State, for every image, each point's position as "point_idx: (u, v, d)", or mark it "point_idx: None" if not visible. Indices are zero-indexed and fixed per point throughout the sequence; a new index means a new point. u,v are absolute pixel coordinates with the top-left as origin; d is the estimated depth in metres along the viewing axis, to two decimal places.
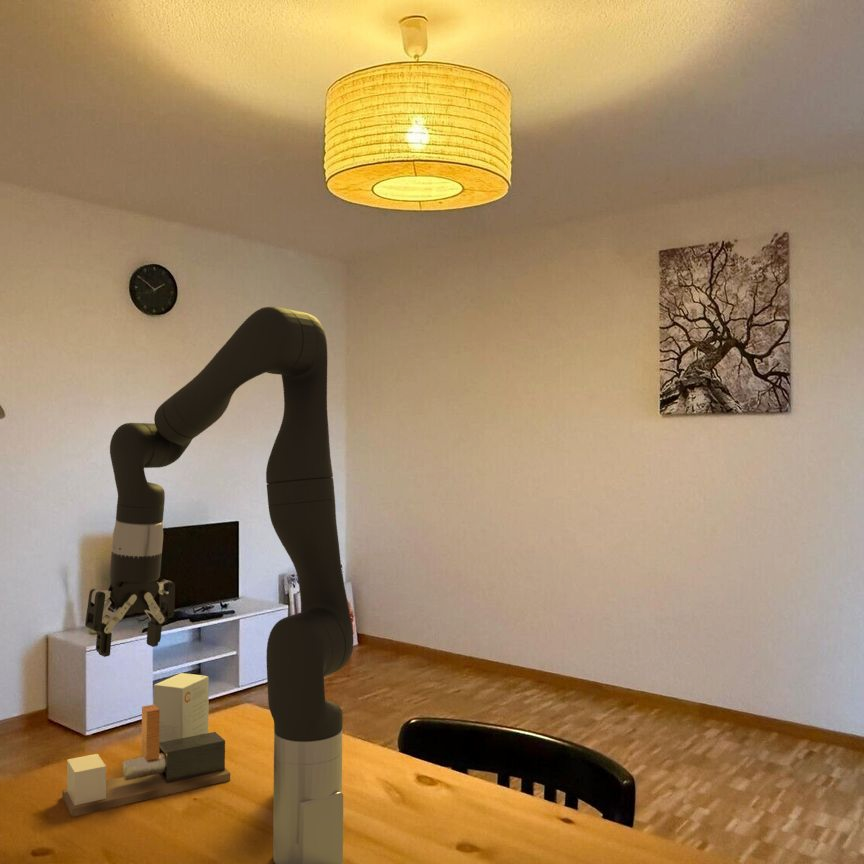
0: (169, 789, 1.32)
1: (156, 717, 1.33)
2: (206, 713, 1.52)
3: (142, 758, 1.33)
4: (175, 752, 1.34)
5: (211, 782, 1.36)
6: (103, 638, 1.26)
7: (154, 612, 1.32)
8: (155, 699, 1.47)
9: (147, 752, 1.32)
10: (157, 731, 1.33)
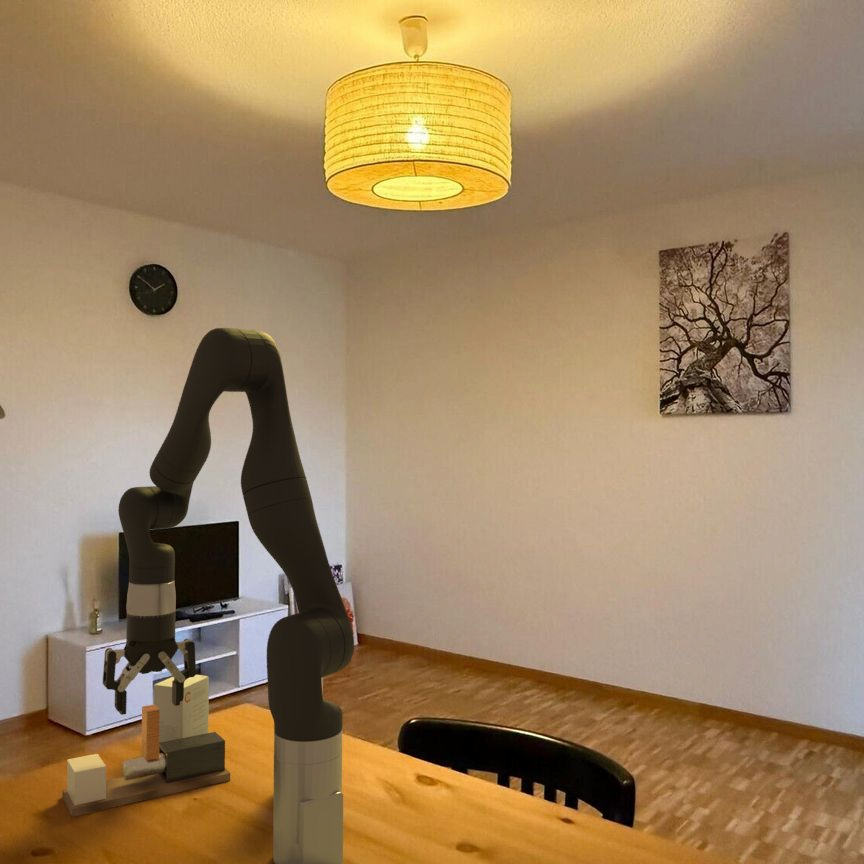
0: (169, 789, 1.32)
1: (156, 717, 1.33)
2: (206, 713, 1.52)
3: (142, 758, 1.33)
4: (175, 752, 1.34)
5: (211, 782, 1.36)
6: (118, 696, 1.31)
7: (171, 671, 1.34)
8: (155, 699, 1.47)
9: (147, 752, 1.32)
10: (157, 731, 1.33)
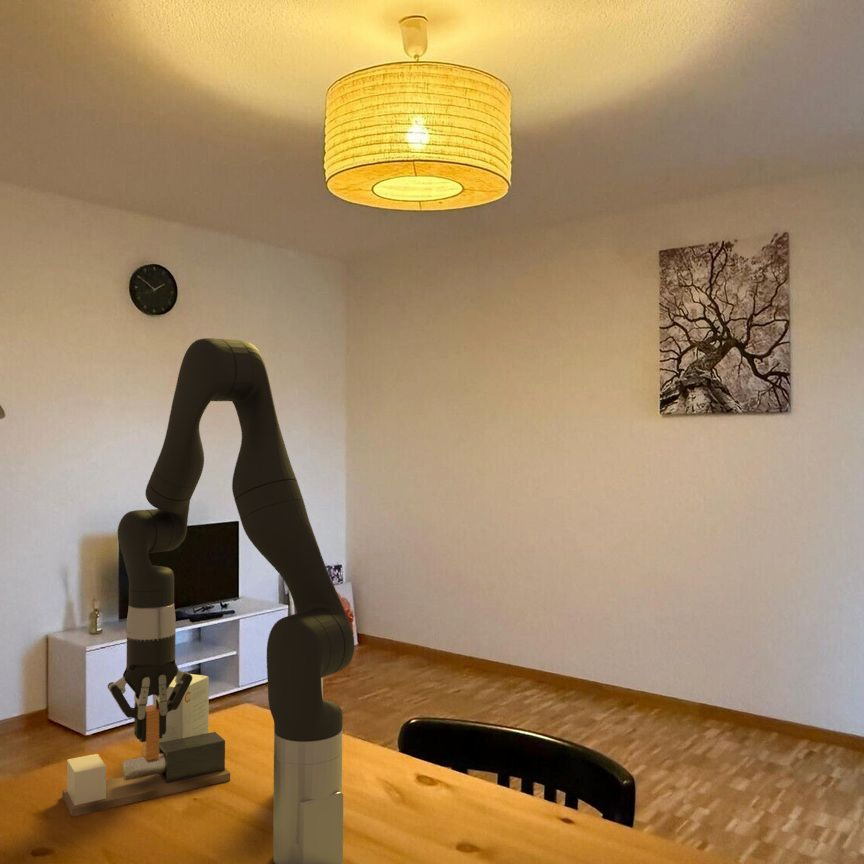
0: (169, 789, 1.32)
1: (156, 717, 1.33)
2: (206, 713, 1.52)
3: (142, 758, 1.33)
4: (175, 752, 1.34)
5: (211, 782, 1.36)
6: (138, 724, 1.32)
7: (160, 699, 1.33)
8: None
9: (147, 752, 1.32)
10: (157, 731, 1.33)
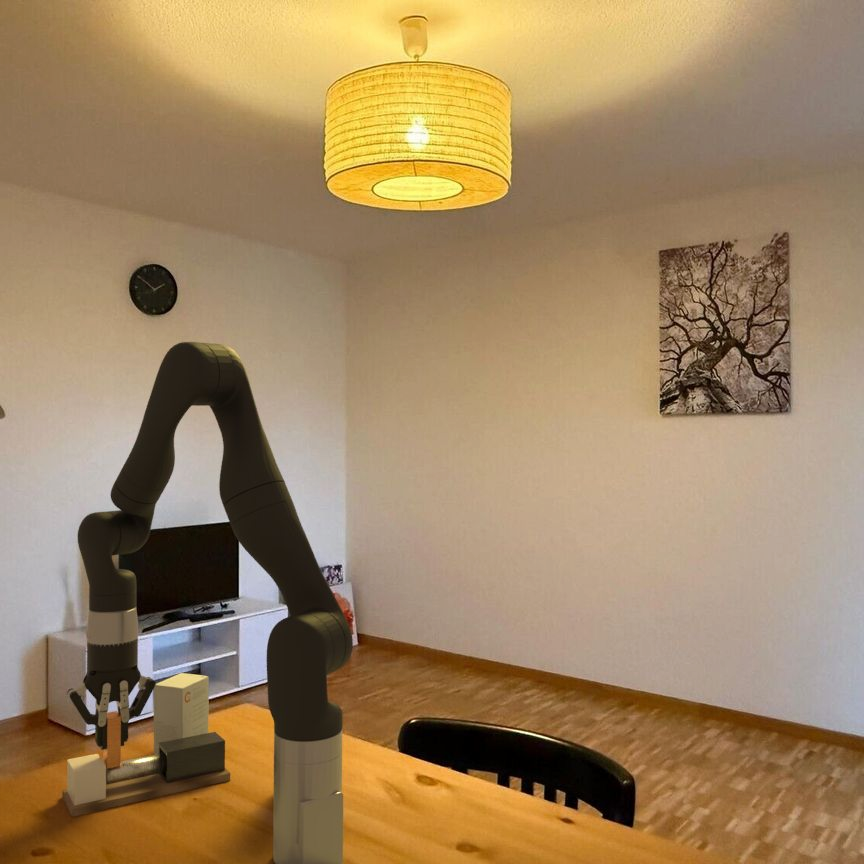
0: (169, 789, 1.32)
1: (117, 724, 1.30)
2: (206, 713, 1.52)
3: None
4: (175, 752, 1.34)
5: (211, 782, 1.36)
6: (99, 731, 1.29)
7: (122, 705, 1.30)
8: (155, 699, 1.47)
9: (108, 760, 1.29)
10: (118, 738, 1.30)
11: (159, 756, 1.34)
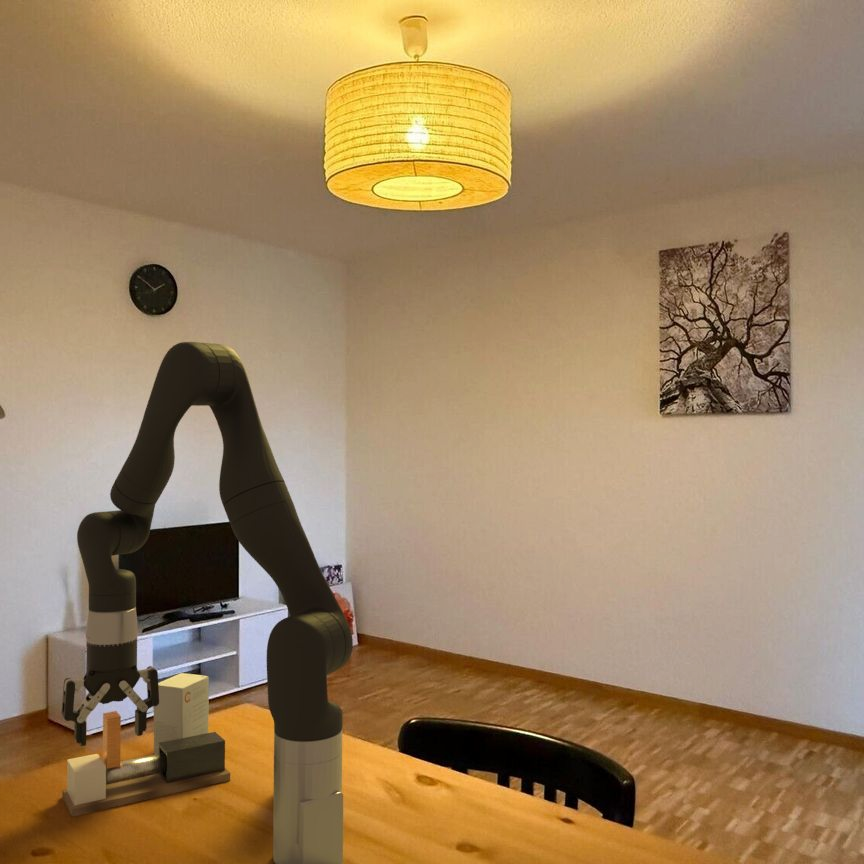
0: (169, 789, 1.32)
1: (117, 724, 1.30)
2: (206, 713, 1.52)
3: None
4: (175, 752, 1.34)
5: (211, 782, 1.36)
6: (78, 727, 1.27)
7: (133, 701, 1.31)
8: None
9: (107, 760, 1.29)
10: (118, 738, 1.30)
11: (159, 756, 1.34)
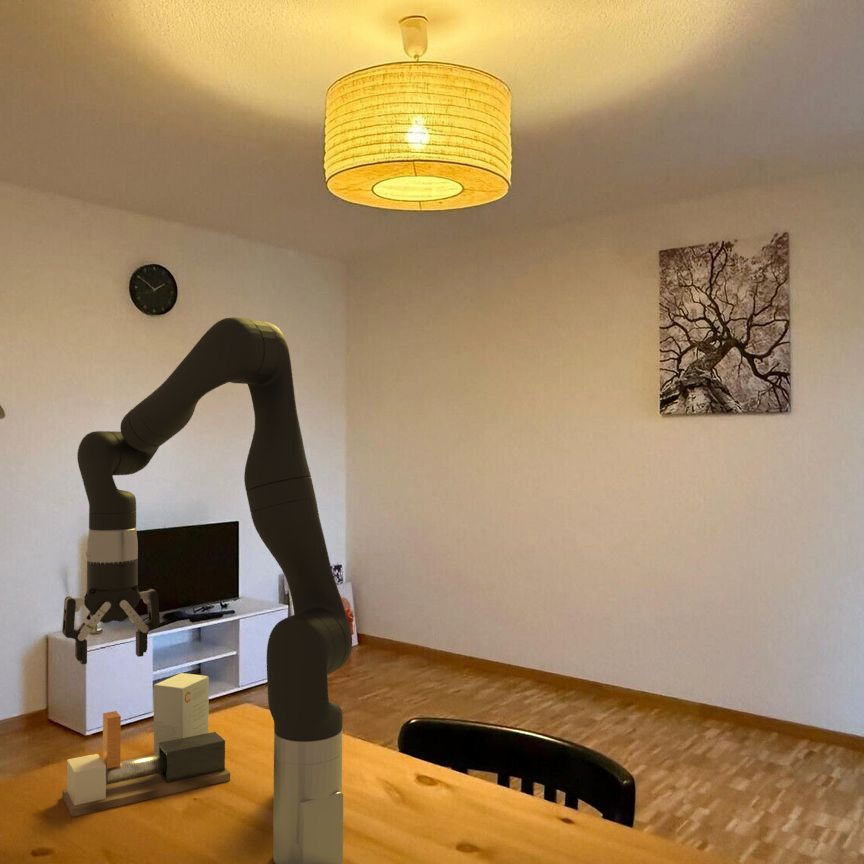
0: (169, 789, 1.32)
1: (117, 724, 1.30)
2: (206, 713, 1.52)
3: None
4: (175, 752, 1.34)
5: (211, 782, 1.36)
6: (79, 645, 1.28)
7: (134, 621, 1.31)
8: (155, 699, 1.47)
9: (107, 760, 1.29)
10: (118, 738, 1.30)
11: (159, 756, 1.34)
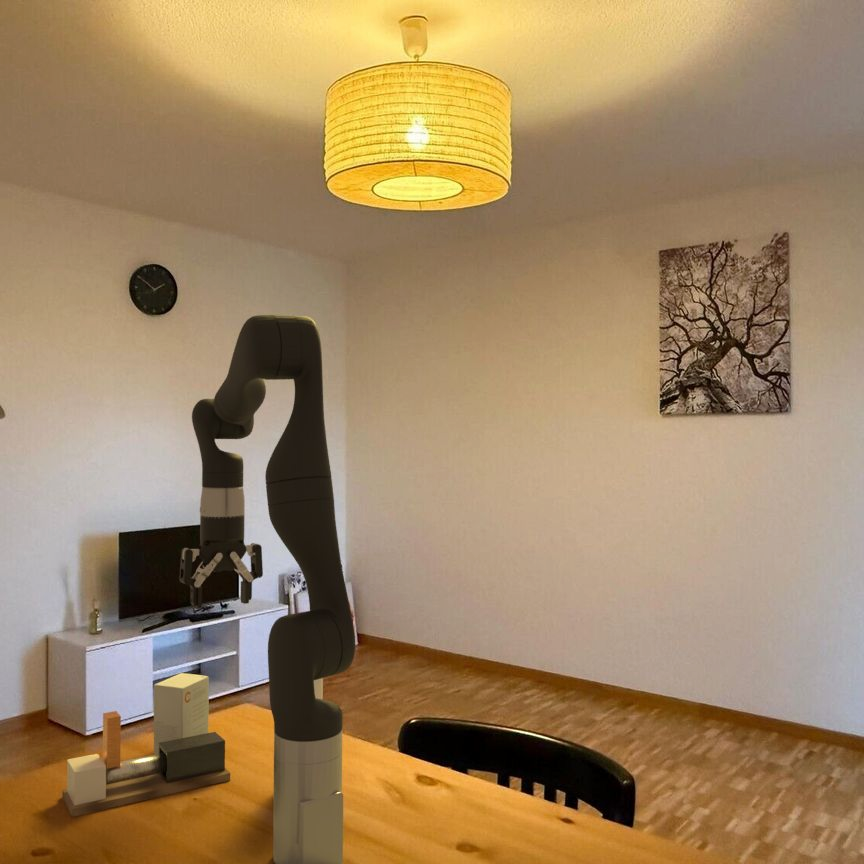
0: (169, 789, 1.32)
1: (117, 724, 1.30)
2: (206, 713, 1.52)
3: None
4: (175, 752, 1.34)
5: (211, 782, 1.36)
6: (194, 592, 1.41)
7: (241, 570, 1.45)
8: (155, 699, 1.47)
9: (107, 760, 1.29)
10: (118, 738, 1.30)
11: (159, 756, 1.34)
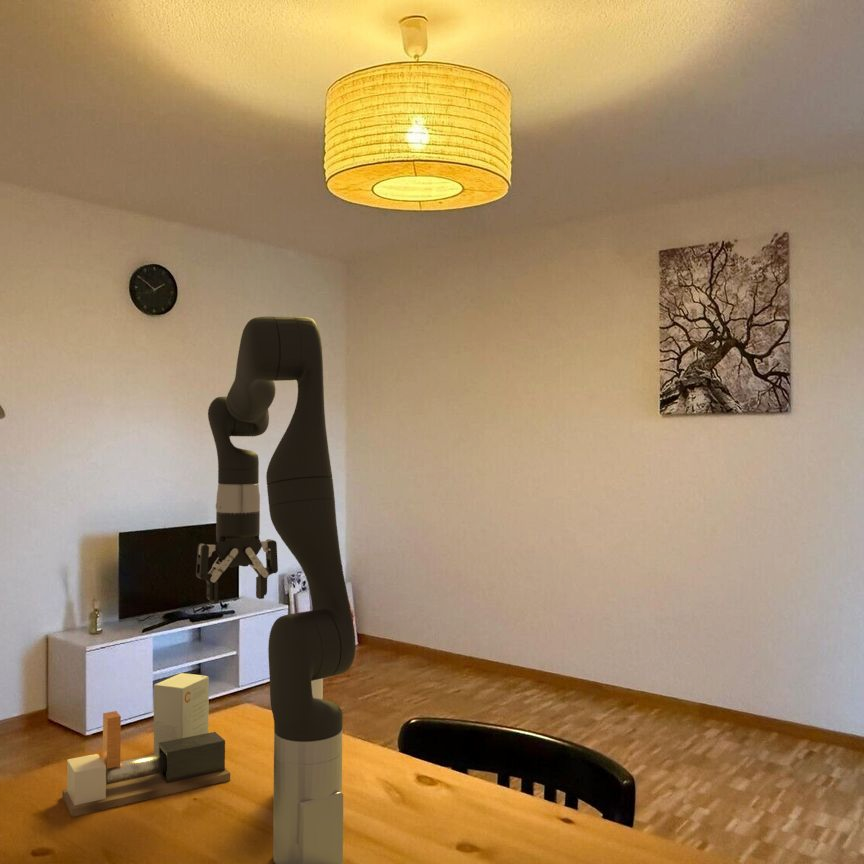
0: (169, 789, 1.32)
1: (117, 724, 1.30)
2: (206, 713, 1.52)
3: None
4: (175, 752, 1.34)
5: (211, 782, 1.36)
6: (211, 587, 1.43)
7: (257, 566, 1.47)
8: (155, 699, 1.47)
9: (107, 760, 1.29)
10: (118, 738, 1.30)
11: (159, 756, 1.34)
